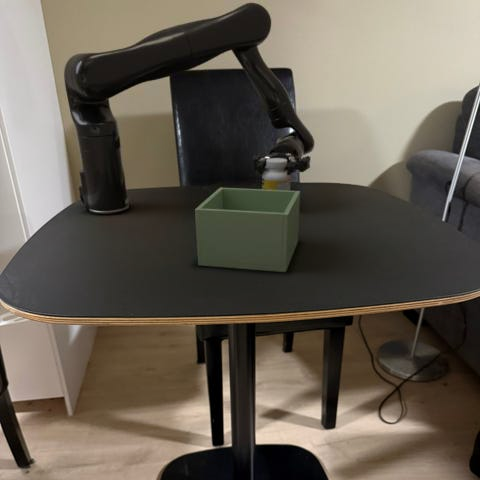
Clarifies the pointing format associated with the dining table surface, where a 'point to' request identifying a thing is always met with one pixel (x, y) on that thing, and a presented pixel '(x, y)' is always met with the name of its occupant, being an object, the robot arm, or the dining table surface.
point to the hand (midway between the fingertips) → (274, 169)
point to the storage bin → (248, 229)
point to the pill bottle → (276, 175)
